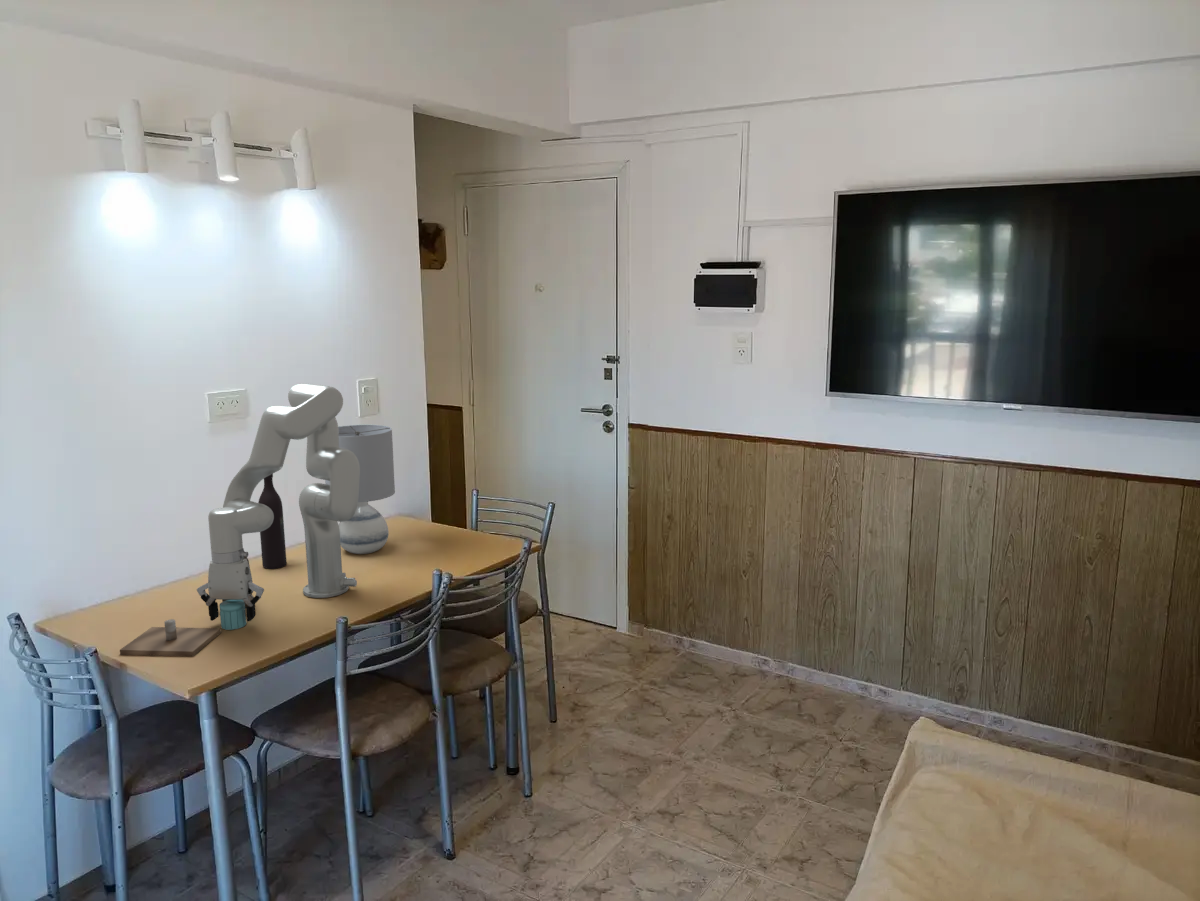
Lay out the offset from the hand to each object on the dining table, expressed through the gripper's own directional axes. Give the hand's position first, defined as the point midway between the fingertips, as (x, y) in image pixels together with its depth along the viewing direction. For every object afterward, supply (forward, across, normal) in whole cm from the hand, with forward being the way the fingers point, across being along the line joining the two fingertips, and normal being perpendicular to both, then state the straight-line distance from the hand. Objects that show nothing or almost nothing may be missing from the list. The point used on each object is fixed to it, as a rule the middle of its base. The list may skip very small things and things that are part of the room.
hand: (232, 619), depth 227 cm
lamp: (+1, -14, -64) cm, 66 cm away
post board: (+2, +10, +12) cm, 16 cm away
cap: (+2, 0, 0) cm, 2 cm away
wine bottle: (+2, +9, -47) cm, 48 cm away
